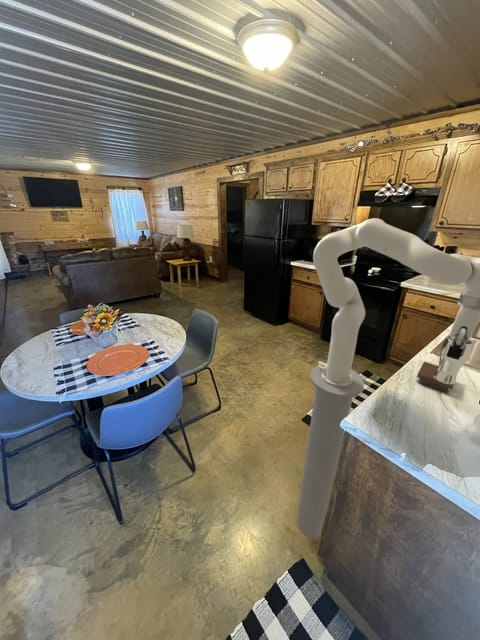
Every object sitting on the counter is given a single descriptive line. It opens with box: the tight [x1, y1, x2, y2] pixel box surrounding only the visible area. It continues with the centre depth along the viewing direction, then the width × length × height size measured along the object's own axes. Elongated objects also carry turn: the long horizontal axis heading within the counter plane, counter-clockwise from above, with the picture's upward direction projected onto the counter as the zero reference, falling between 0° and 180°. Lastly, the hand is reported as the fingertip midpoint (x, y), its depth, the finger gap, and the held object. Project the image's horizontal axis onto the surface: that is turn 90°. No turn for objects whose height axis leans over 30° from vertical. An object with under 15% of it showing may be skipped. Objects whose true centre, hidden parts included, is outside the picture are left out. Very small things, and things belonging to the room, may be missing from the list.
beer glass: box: [433, 334, 474, 385], centre depth 85 cm, size 7×7×15 cm
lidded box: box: [416, 361, 455, 394], centre depth 110 cm, size 12×13×4 cm
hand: (454, 352), depth 84 cm, fingers closed on beer glass, 7 cm apart
